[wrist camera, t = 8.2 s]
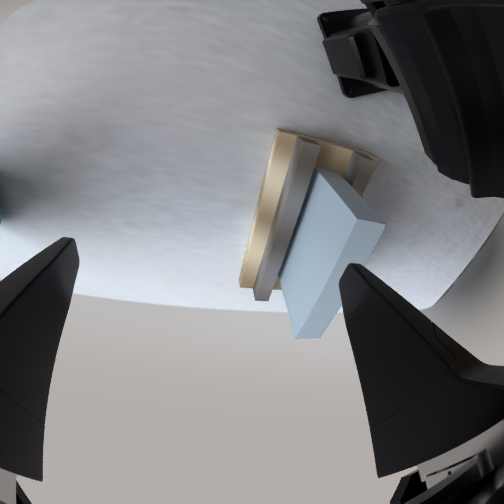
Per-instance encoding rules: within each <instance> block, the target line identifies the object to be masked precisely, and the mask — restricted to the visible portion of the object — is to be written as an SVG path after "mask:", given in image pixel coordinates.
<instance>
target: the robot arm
mask: <svg viewBox="0 0 504 504" xmlns="http://www.w3.org/2000/svg"><path fill="white" fill-rule="evenodd" d="M360 1H361V2H362V3H363V4H365V5H366V7H367V8H368V9H354V10H344V11H335V12H327V13H323V14H320V15H319V16H318V18H317V20H318V23H319V26H320V28H321V31H322V33H323V36H324V40H323V45H324V48H325V50H326V53H327V56H328V59H329V62H330V65H331V68H332V71H333V73H334V74H335V75H337V77H338V80H339V83H340V86H341V90H342V93H343V95H344V96H346V97H349V98H354V97H358V96H362V95H367V94H371V93H376V92H380V91H385V90H391V91H395V92H399V93H402V94H404V95H405V98H406V100H407V103H408V105H409V108H410V110H411V113H412V115H413V118H414V121H415V123H416V126H417V129H418V132H419V135H420V138H421V141H422V144H423V147H424V151H425V154H426V155H427V156H428V157H429V158H430V159H431V160H432V162H433V163H434V164H435V165H437V168H438V171H439V172H440V173H442V174H443V175H445V176H447V177H449V178H451V179H453V180H456V181H459V182H462V183H465V184H470V190H471V196H472V197H474V198H483V197H500V198H504V0H360ZM323 17H326V18H327V19H328V22H324V20H323ZM349 88H351V93H350V94H348V89H349ZM78 268H79V255H78V251H77V246H76V242H75V240H74V239H73V238H68V237H63V238H61V239H59V240H58V241H56V242H55V243H53V244H52V245H50V246H49V247H47V248H46V249H44V250H43V251H41V252H40V253H38V254H37V255H35V256H34V257H32V258H31V259H30V260H28V261H27V262H25V263H24V264H23V265H21V266H20V267H19V268H17V269H16V270H15V271H13V272H12V273H11V274H9V275H8V276H7V277H5V278H4V279H3V280H2V281H0V504H31V502H30V500H29V499H28V498H27V496H26V495H25V493H24V492H23V490H22V489H21V487H20V485H19V484H18V482H17V481H16V474H18V475H21V476H24V477H27V478H30V479H34V480H38V481H42V480H43V472H42V471H43V442H44V428H45V425H44V424H45V416H46V409H47V402H48V395H49V388H50V383H51V377H52V372H53V367H54V363H55V358H56V354H57V350H58V346H59V342H60V338H61V334H62V330H63V327H64V323H65V319H66V316H67V313H68V310H69V306H70V302H71V297H72V293H73V288H74V284H75V280H76V276H77V272H78ZM339 291H340V296H341V301H342V307H343V313H344V318H345V323H346V328H347V331H348V335H349V339H350V343H351V346H352V350H353V354H354V358H355V362H356V366H357V370H358V375H359V379H360V383H361V388H362V392H363V397H364V402H365V406H366V411H367V416H368V421H369V426H370V432H371V438H372V444H373V449H374V456H375V463H376V469H377V475H378V478H381V477H384V476H387V475H391V474H393V473H397V472H399V471H402V470H405V469H408V468H411V467H413V466H416V465H417V468H418V469H417V470H415V471H413V472H411V473H409V474H408V475H406V476H404V477H402V478H401V480H400V483H399V485H398V487H397V489H396V491H395V493H394V495H393V497H392V499H391V501H390V504H504V366H495V365H488V364H485V363H483V362H481V361H480V360H479V359H477V358H476V357H475V356H473V355H472V354H471V353H469V351H467V350H466V349H465V348H463V347H462V346H461V345H460V344H458V343H457V342H456V341H455V340H453V339H452V338H451V337H450V336H448V335H447V334H446V333H445V332H444V331H443V330H441V329H440V328H439V327H438V326H437V325H436V324H434V323H433V322H431V320H429V319H428V318H427V317H426V316H425V315H424V314H423V313H421V312H420V311H419V310H418V309H417V308H415V307H414V306H413V305H412V304H411V303H409V302H408V301H407V300H406V299H404V298H403V297H402V296H401V295H399V294H398V293H397V292H396V291H394V290H393V289H392V288H391V287H389V286H388V285H387V284H386V283H384V282H383V281H382V280H381V279H379V278H378V277H377V276H375V275H374V274H373V273H372V272H370V271H369V270H368V269H366V268H365V267H364V266H362V265H361V264H359V263H349V264H348V265H347V267H346V268H345V270H344V272H343V274H342V276H341V278H340V280H339Z"/></svg>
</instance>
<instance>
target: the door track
mask: <svg viewBox="0 0 504 504" xmlns="http://www.w3.org/2000/svg"><path fill="white" fill-rule="evenodd" d="M377 162H378V158H377V157H375V156H374V155H373V154H370V153H367V152H364V151H361V150H357V149H354V148H351V147H348V146H344V145H341V144H337V143H334V142H330V141H327V140H323V139H319V138H315V137H311V136H307V135H303V134H299V133H295V132H290V131H286V130H281V129H277V130H276V133H275V137H274V141H273V145H272V149H271V153H270V157H269V161H268V165H267V169H266V173H265V177H264V181H263V185H262V189H261V193H260V197H259V201H258V205H257V209H256V213H255V217H254V221H253V225H252V229H251V233H250V237H249V241H248V245H247V249H246V254H245V258H244V262H243V266H242V270H241V274H240V278H239V283H240V287H241V288H253V291H254V297H255V300H256V301H268V300H269V298H270V295H271V292H272V289H275V290H282V287H281V284H280V280H279V277H278V273H279V270H280V267H281V265H282V262H283V259H284V256H285V253H286V250H287V248H288V245H289V242H290V239H291V236H292V233H293V230H294V227H295V225H296V222H297V219H298V216H299V213H300V210H301V207H302V204H303V201H304V198H305V195H306V192H307V189H308V186H309V183H310V180H311V176H312V173H313V170H314V167H317V168H321V169H325V170H330V171H334V172H338V173H339V174H340V175H341V176H342V177H343V178H344V179H345V180H346V181H347V182H348V183H349V184H350V185H351V186H352V187H353V188H354V189H355V190H356V191H357V192H358V193H359V195H360V196H361V197H362V198H363V197H364V195H365V192H366V190H367V187H368V185H369V182H370V180H371V177H372V175H373V172H374V170H375V167H376V165H377Z"/></svg>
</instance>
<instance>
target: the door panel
mask: <svg viewBox="0 0 504 504" xmlns="http://www.w3.org/2000/svg"><path fill="white" fill-rule="evenodd" d="M385 227H386V224H385V222H384V221H383V220H382V219H381V218H380V217H379V216H378V214H377V213H376V212H375V211H374V210H373V209H372V208H371V207H370V205H369V204H368V203H367V202H366V201H365V200H364V199H363V198H362V197H361V196H360V195H359V193H358V192H357V191H356V190H355V189H354V188H353V187H352V186H351V185H350V184H349V183H348V182H347V181H346V180H345V179H344V178H343V177H342V176H341V175H340V174H339V173H338V172H334V171H330V170H325V169H321V168H317V167H314V170H313V173H312V176H311V180H310V183H309V186H308V189H307V192H306V195H305V198H304V201H303V204H302V207H301V210H300V213H299V216H298V219H297V222H296V225H295V227H294V230H293V233H292V236H291V239H290V242H289V245H288V248H287V250H286V253H285V256H284V259H283V262H282V265H281V267H280V270H279V273H278V277H279V280H280V284H281V287H282V291H283V295H284V298H285V302H286V306H287V309H288V313H289V317H290V320H291V324H292V328H293V331H294V335H295V339H310V338H321V336H322V335H323V333H324V332H325V330H326V329H327V327H328V326H329V324H330V322H331V321H332V319H333V318H334V316H335V314H336V313H337V312H338V310H339V308H340V307H341V305H342V301H341V296H340V291H339V280H340V278H341V276H342V274H343V272H344V270H345V268H346V267H347V265H348V264H349V263H359V264H361V265H362V266H365V264H366V263H367V261H368V259H369V257H370V255H371V253H372V252H373V250H374V248H375V246H376V244H377V242H378V240H379V238H380V236H381V234H382V232H383V231H384V229H385Z"/></svg>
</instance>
